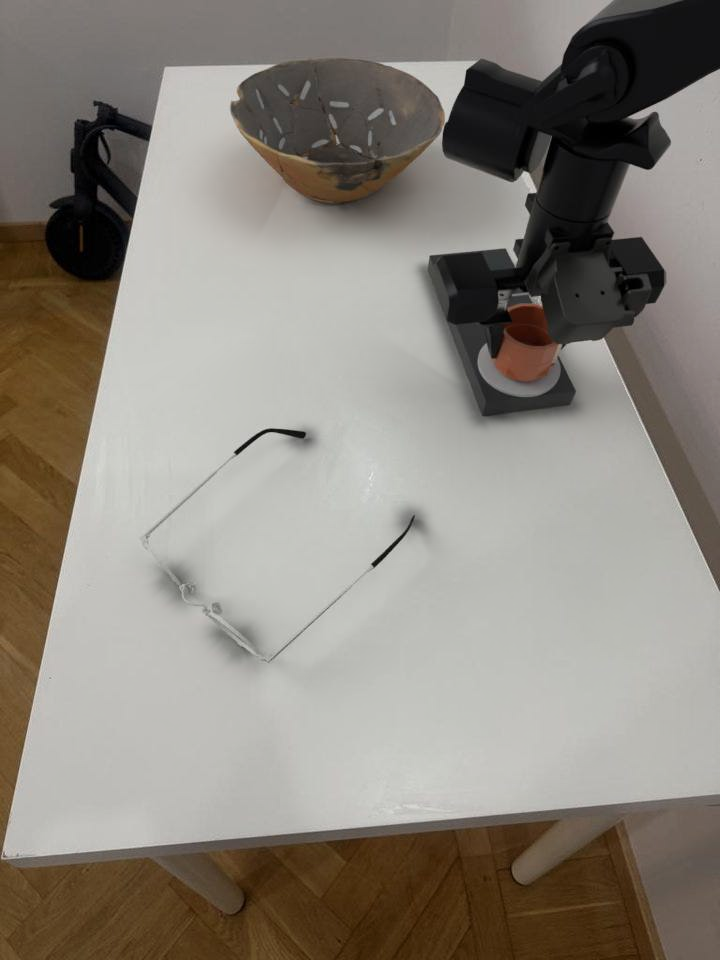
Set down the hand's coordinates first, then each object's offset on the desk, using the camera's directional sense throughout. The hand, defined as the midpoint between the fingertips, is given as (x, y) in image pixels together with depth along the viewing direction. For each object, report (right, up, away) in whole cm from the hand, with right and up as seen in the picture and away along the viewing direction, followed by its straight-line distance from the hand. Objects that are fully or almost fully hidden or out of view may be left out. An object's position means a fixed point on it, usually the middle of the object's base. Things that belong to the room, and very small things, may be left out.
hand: (523, 351), depth 60 cm
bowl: (-18, +26, +22) cm, 39 cm away
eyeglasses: (-22, -18, -7) cm, 29 cm away
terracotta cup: (0, -1, +1) cm, 1 cm away
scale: (-1, +4, +7) cm, 8 cm away
